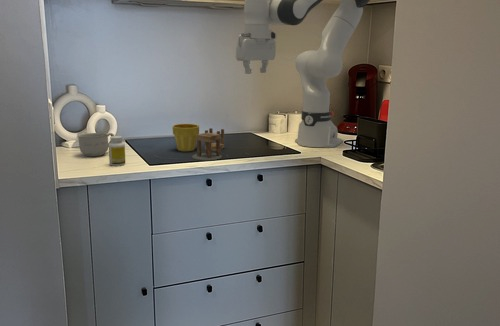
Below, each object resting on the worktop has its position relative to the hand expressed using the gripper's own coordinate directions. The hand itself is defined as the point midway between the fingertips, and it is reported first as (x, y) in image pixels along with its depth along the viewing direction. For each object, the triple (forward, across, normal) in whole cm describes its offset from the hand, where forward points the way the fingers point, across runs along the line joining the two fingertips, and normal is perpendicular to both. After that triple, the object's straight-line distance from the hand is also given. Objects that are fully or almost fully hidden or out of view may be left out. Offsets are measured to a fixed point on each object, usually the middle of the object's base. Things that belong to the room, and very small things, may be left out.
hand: (255, 73), depth 181 cm
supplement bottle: (+31, -39, +31) cm, 59 cm away
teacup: (+32, -33, +49) cm, 67 cm away
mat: (+31, -11, +14) cm, 36 cm away
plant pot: (+31, -6, +29) cm, 43 cm away
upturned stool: (+31, +2, +21) cm, 38 cm away
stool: (+31, -10, +14) cm, 35 cm away
